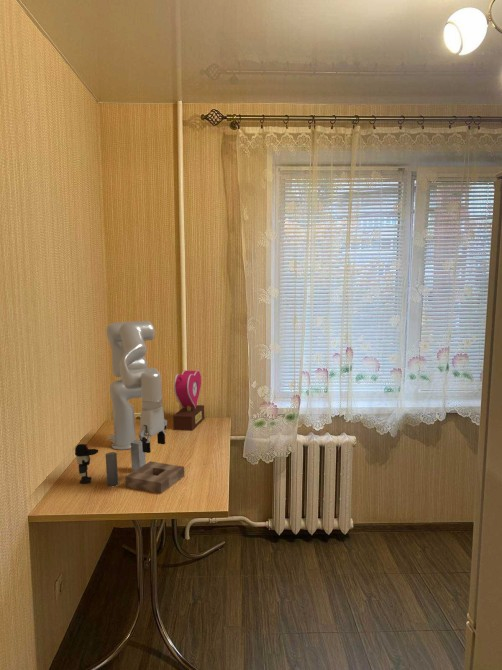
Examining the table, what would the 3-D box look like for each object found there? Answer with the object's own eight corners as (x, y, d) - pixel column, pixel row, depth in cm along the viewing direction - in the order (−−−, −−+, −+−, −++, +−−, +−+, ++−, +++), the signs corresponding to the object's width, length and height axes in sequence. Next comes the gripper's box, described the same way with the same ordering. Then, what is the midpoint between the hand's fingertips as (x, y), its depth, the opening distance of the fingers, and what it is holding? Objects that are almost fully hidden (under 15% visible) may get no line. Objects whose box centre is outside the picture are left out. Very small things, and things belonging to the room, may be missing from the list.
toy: (99, 484, 180) (96, 446, 178) (75, 486, 178) (72, 448, 176) (100, 476, 187) (98, 439, 185) (78, 478, 185) (75, 441, 183)
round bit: (105, 485, 178) (103, 455, 177) (112, 481, 182) (110, 451, 180) (113, 487, 176) (111, 456, 175) (120, 483, 180) (118, 452, 179)
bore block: (125, 486, 177) (125, 476, 176) (150, 470, 191) (150, 461, 191) (161, 493, 170) (161, 483, 170) (184, 476, 185) (184, 466, 185)
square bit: (131, 471, 191) (130, 442, 190) (138, 467, 195) (136, 439, 194) (140, 472, 190) (138, 443, 188) (146, 468, 193) (144, 440, 192)
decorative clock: (190, 432, 239) (188, 374, 235) (171, 431, 241) (168, 374, 237) (204, 418, 263) (203, 365, 259) (187, 417, 265) (185, 365, 261)
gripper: (157, 398, 187) (158, 439, 189) (129, 409, 171) (132, 454, 173) (173, 399, 184) (174, 441, 186) (146, 411, 168) (149, 457, 170)
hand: (154, 447), depth 179 cm, fingers open, 9 cm apart
